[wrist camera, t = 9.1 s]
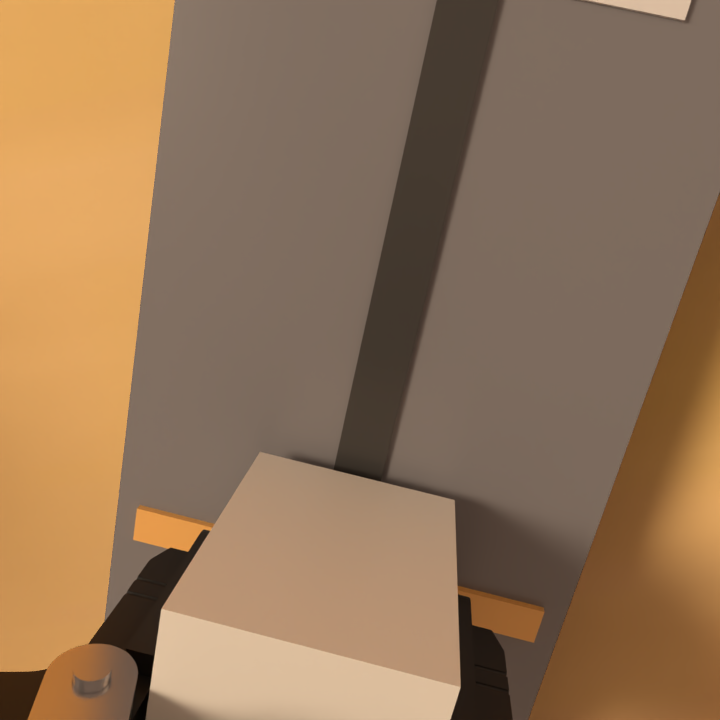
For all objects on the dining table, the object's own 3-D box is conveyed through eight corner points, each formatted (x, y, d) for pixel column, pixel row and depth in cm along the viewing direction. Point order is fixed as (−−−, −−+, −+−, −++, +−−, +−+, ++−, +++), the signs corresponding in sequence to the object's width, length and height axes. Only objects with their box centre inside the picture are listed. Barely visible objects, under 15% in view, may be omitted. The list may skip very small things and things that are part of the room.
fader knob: (260, 451, 14) (157, 616, 9) (454, 499, 13) (461, 695, 9) (223, 651, 15) (118, 886, 10) (398, 697, 15) (376, 960, 10)
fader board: (264, -382, 12) (194, -594, 8) (841, -277, 11) (1007, -459, 8) (117, 748, 20) (50, 868, 16) (455, 840, 19) (457, 984, 16)
